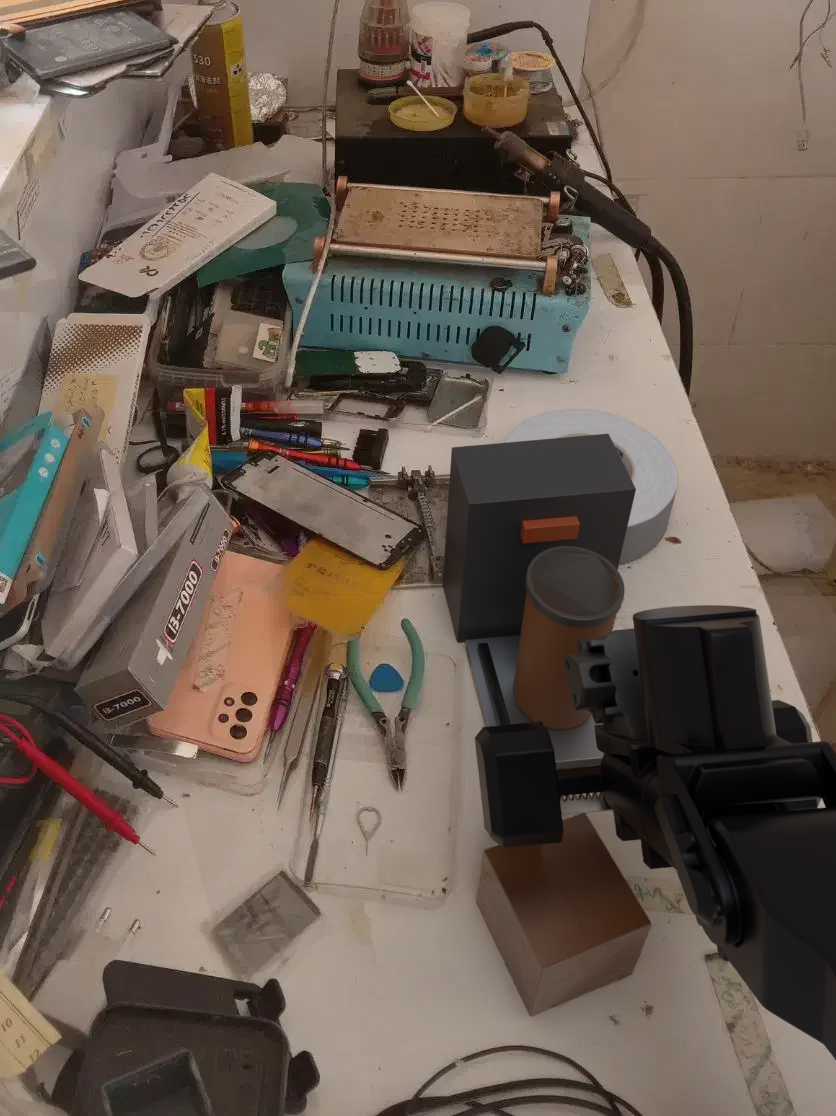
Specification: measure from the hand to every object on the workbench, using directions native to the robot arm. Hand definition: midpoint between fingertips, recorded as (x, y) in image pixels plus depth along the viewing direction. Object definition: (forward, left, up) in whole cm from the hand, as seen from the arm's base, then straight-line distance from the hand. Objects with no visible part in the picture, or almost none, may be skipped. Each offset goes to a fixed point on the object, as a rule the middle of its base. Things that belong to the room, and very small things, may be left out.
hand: (597, 737), depth 66 cm
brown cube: (-8, +7, -7) cm, 13 cm away
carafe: (+7, -2, -6) cm, 10 cm away
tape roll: (+24, -15, -7) cm, 30 cm away
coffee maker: (+16, -4, -7) cm, 18 cm away
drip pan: (+7, -2, -7) cm, 10 cm away
